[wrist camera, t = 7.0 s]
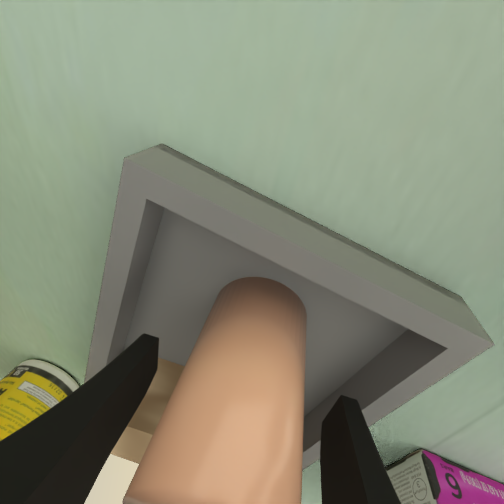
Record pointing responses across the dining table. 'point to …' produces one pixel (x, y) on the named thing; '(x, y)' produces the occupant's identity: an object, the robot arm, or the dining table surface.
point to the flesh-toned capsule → (234, 407)
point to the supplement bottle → (31, 393)
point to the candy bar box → (441, 482)
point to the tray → (278, 269)
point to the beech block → (148, 413)
